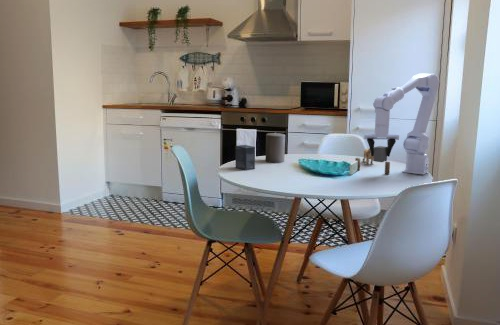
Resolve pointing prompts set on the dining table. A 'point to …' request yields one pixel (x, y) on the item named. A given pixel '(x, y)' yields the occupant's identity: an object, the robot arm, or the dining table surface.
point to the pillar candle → (275, 147)
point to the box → (245, 157)
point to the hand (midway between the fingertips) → (380, 156)
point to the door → (353, 167)
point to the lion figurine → (368, 156)
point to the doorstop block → (380, 154)
